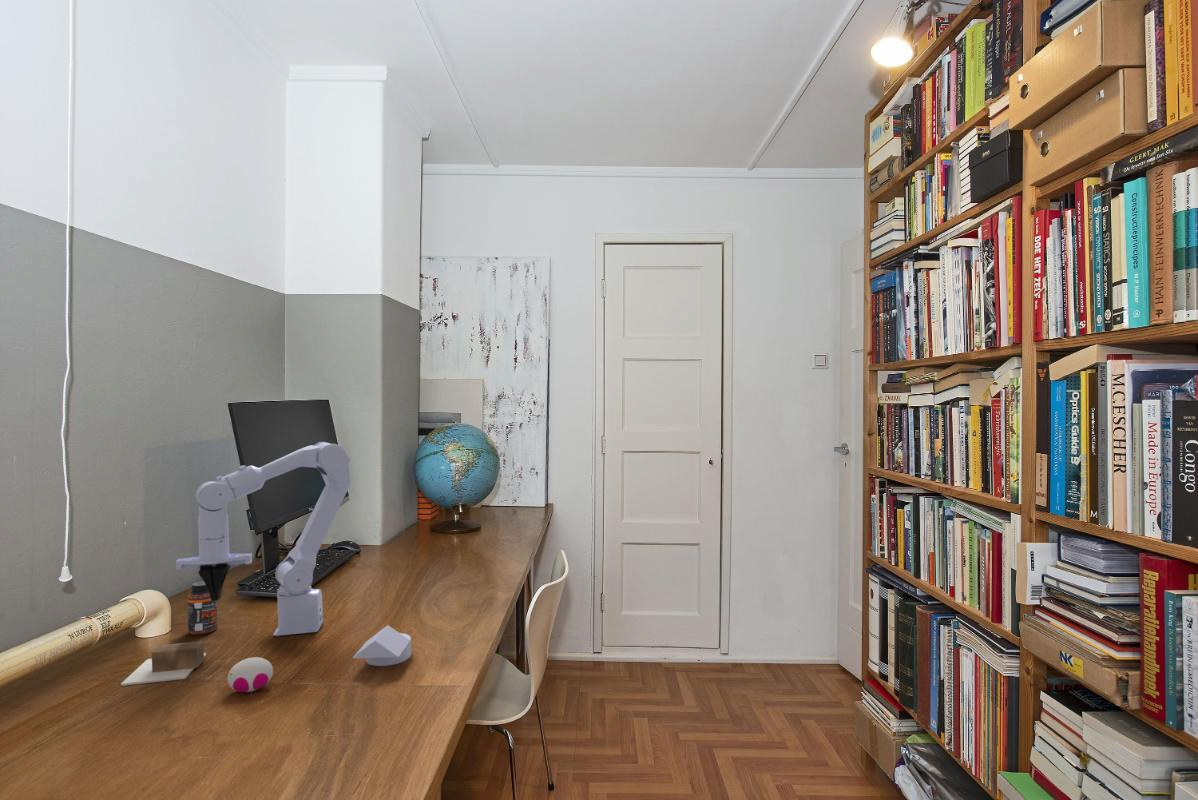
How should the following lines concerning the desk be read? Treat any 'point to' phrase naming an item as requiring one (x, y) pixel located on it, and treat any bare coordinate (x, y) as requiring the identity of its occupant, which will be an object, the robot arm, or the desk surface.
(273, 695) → the desk surface
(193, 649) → the walnut block
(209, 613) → the supplement bottle
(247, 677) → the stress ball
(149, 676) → the felt mat
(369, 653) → the wedge on round base
